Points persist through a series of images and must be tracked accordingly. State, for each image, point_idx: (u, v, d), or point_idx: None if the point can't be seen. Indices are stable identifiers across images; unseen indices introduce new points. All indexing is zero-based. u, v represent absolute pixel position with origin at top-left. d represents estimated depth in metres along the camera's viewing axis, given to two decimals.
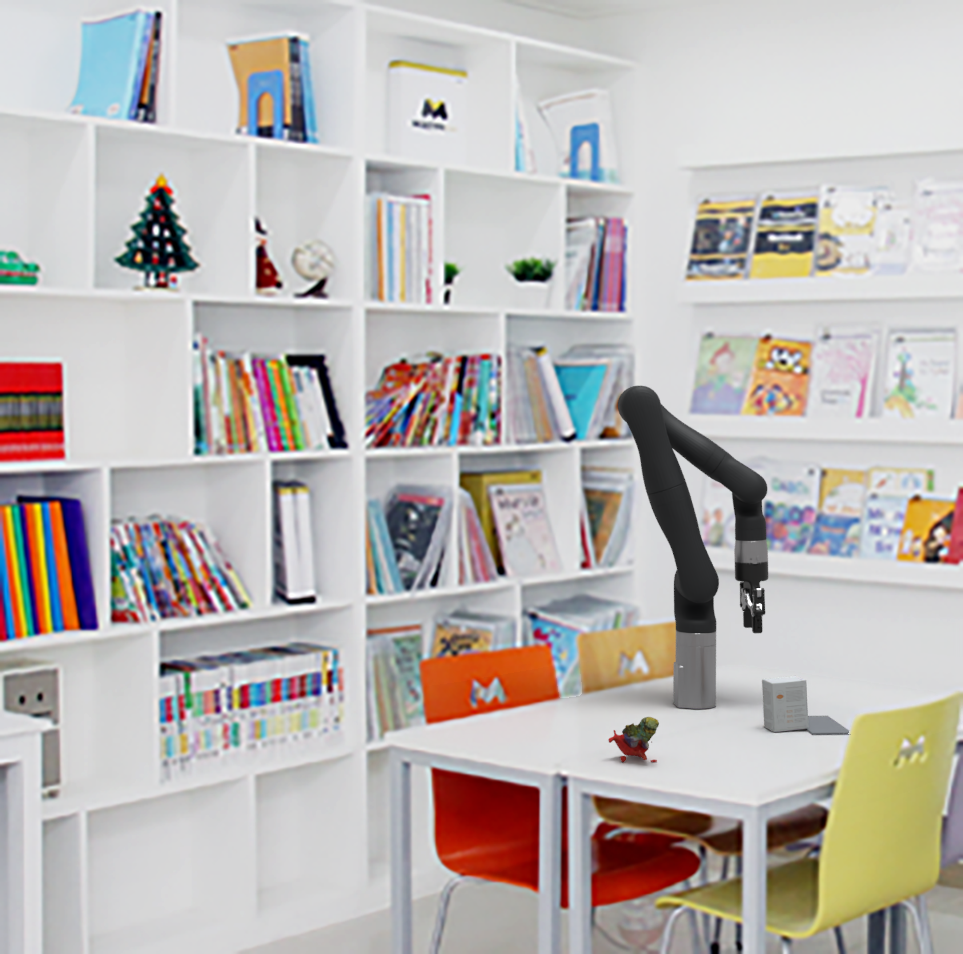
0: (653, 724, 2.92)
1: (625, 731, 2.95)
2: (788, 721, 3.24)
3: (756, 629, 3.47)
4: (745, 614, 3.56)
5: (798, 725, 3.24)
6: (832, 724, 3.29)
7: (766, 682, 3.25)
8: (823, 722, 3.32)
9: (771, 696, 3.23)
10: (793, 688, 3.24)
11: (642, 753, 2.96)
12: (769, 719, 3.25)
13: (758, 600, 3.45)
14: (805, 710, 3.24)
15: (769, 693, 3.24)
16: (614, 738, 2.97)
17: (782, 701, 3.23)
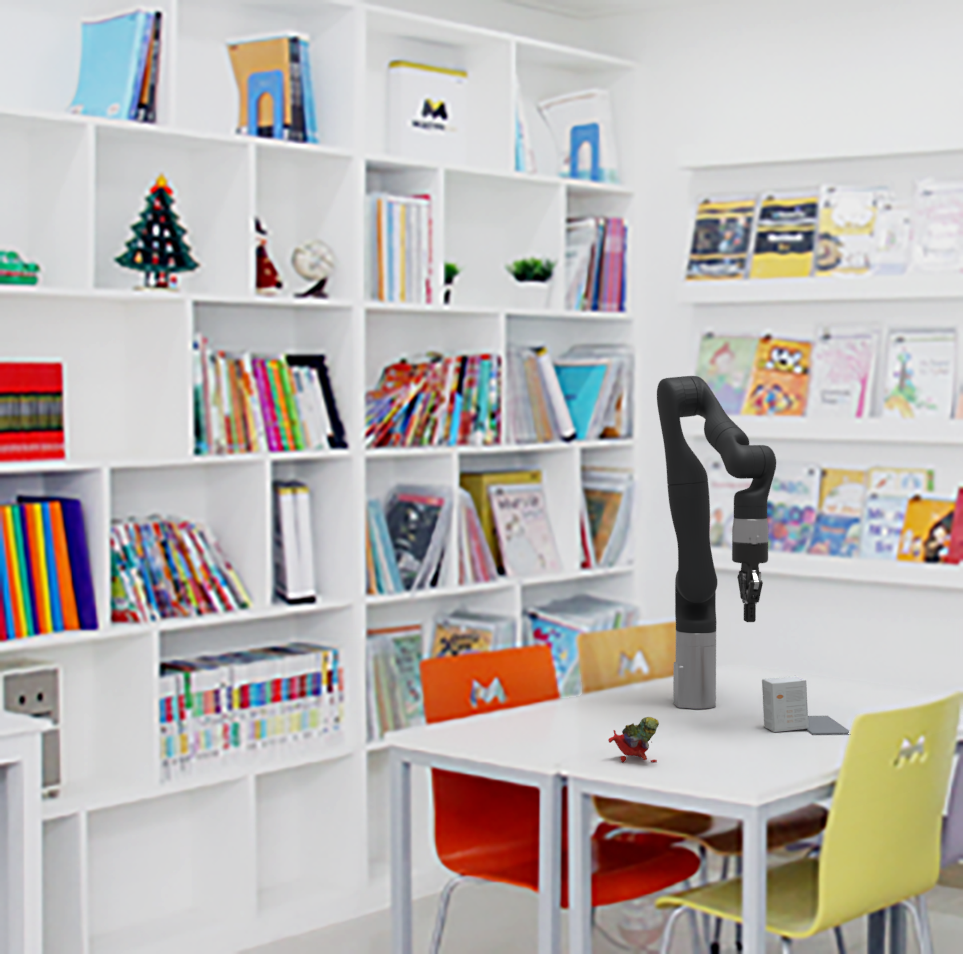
0: (653, 724, 2.92)
1: (625, 731, 2.95)
2: (788, 721, 3.24)
3: (749, 618, 3.24)
4: None
5: (798, 725, 3.24)
6: (832, 724, 3.29)
7: (766, 682, 3.25)
8: (823, 722, 3.32)
9: (771, 696, 3.23)
10: (793, 688, 3.24)
11: (642, 753, 2.96)
12: (769, 719, 3.25)
13: (754, 592, 3.20)
14: (805, 710, 3.24)
15: (769, 693, 3.24)
16: (614, 738, 2.97)
17: (782, 701, 3.23)
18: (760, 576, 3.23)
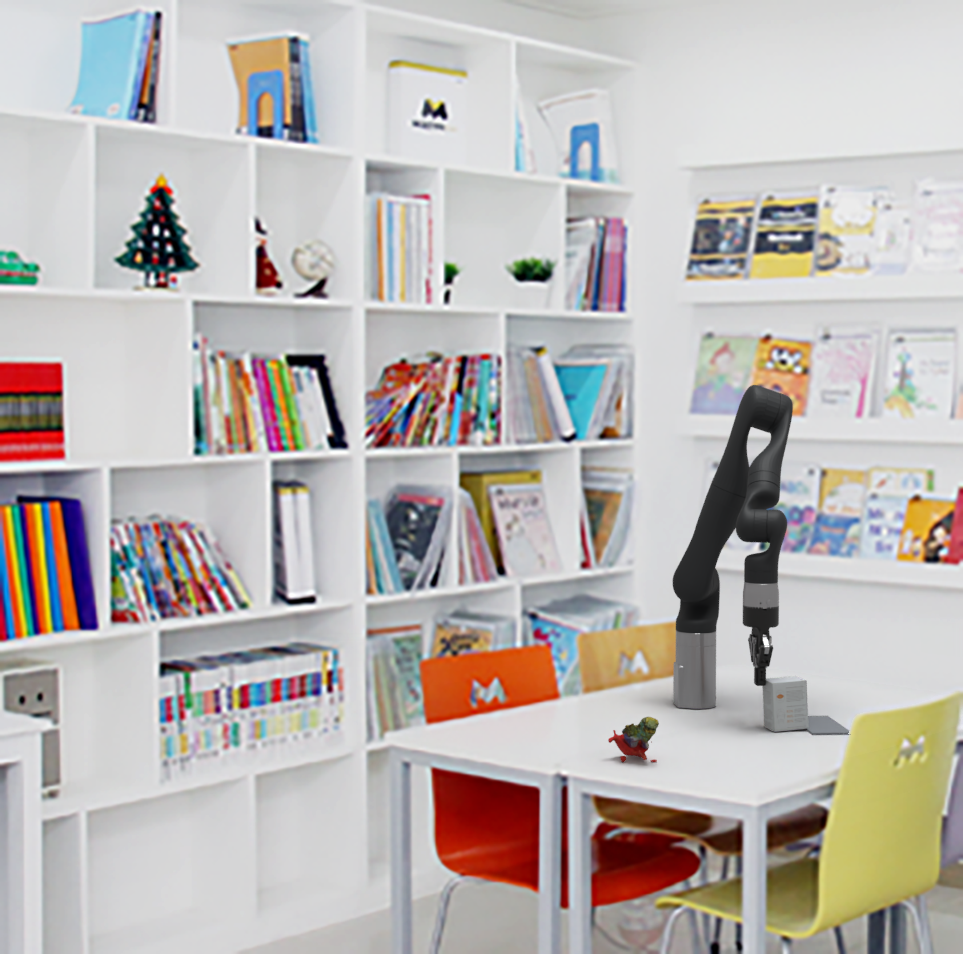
0: (653, 724, 2.92)
1: (625, 731, 2.95)
2: (788, 721, 3.24)
3: (759, 681, 3.24)
4: None
5: (798, 725, 3.24)
6: (832, 724, 3.29)
7: (766, 682, 3.25)
8: (823, 722, 3.32)
9: (771, 696, 3.23)
10: (793, 688, 3.24)
11: (642, 753, 2.96)
12: (769, 719, 3.25)
13: (764, 657, 3.21)
14: (805, 710, 3.24)
15: (769, 693, 3.24)
16: (614, 738, 2.97)
17: (782, 701, 3.23)
18: (770, 640, 3.23)
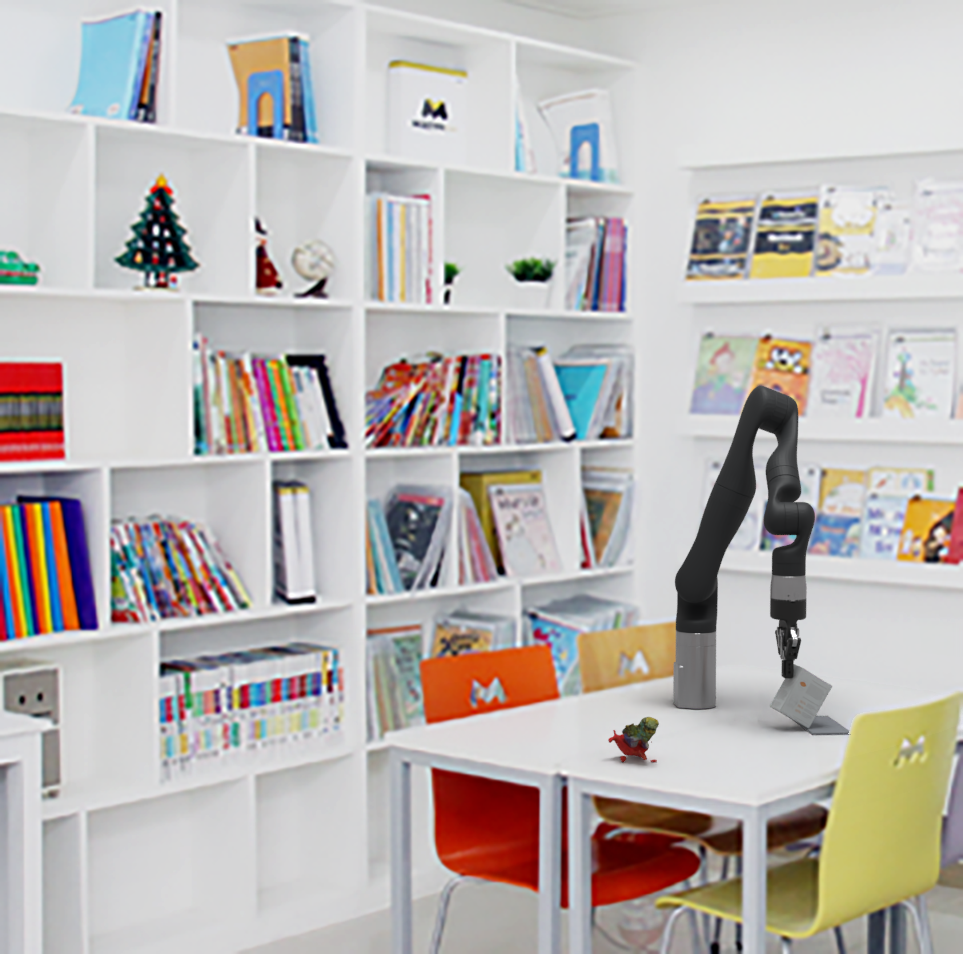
0: (653, 724, 2.92)
1: (625, 731, 2.95)
2: (796, 710, 3.24)
3: (787, 674, 3.25)
4: None
5: (802, 719, 3.24)
6: (832, 724, 3.29)
7: (797, 666, 3.27)
8: (823, 722, 3.32)
9: (796, 679, 3.24)
10: (818, 685, 3.25)
11: (642, 753, 2.96)
12: (780, 699, 3.25)
13: (792, 649, 3.21)
14: (816, 711, 3.25)
15: (794, 676, 3.25)
16: (614, 738, 2.97)
17: (802, 690, 3.24)
18: (798, 633, 3.24)
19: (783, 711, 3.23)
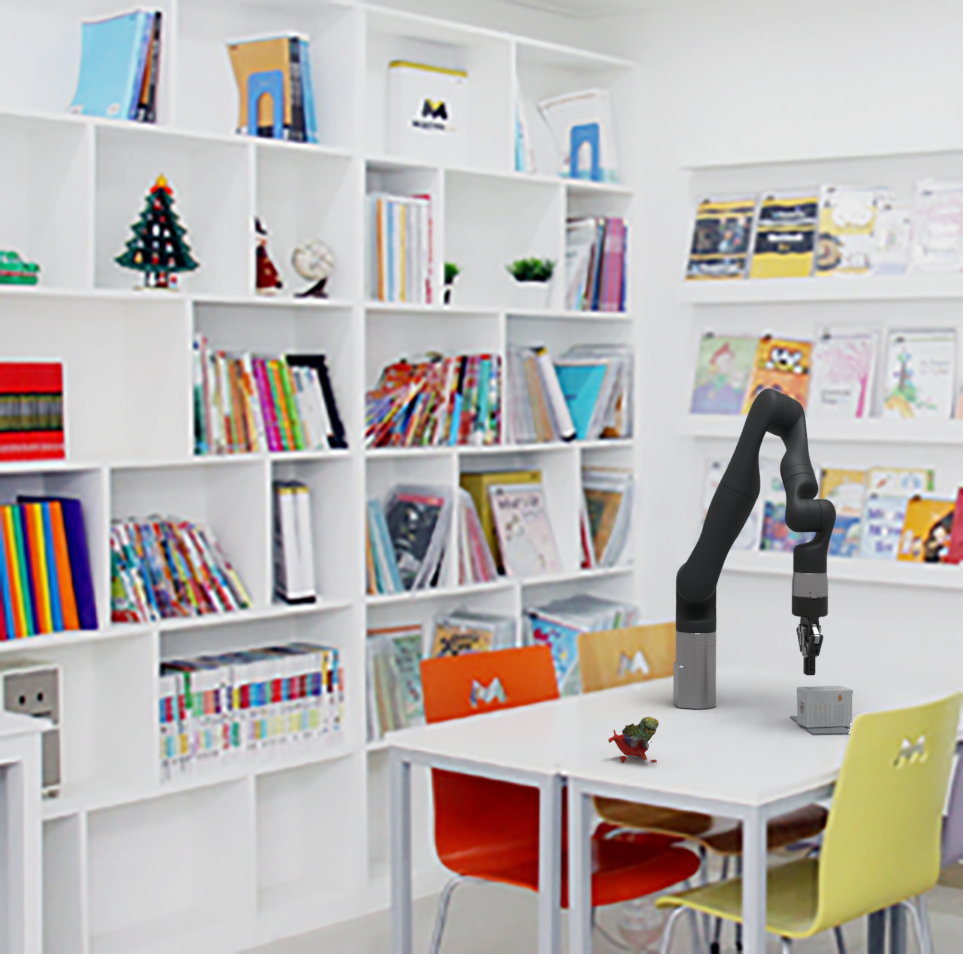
0: (653, 724, 2.92)
1: (625, 731, 2.95)
2: (816, 706, 3.25)
3: (809, 671, 3.25)
4: None
5: (811, 716, 3.25)
6: None
7: (845, 687, 3.30)
8: None
9: (839, 689, 3.27)
10: (845, 712, 3.27)
11: (642, 753, 2.96)
12: (812, 688, 3.27)
13: (814, 646, 3.21)
14: (824, 725, 3.26)
15: (839, 688, 3.28)
16: (614, 738, 2.97)
17: (835, 700, 3.26)
18: (820, 630, 3.24)
19: (809, 694, 3.25)
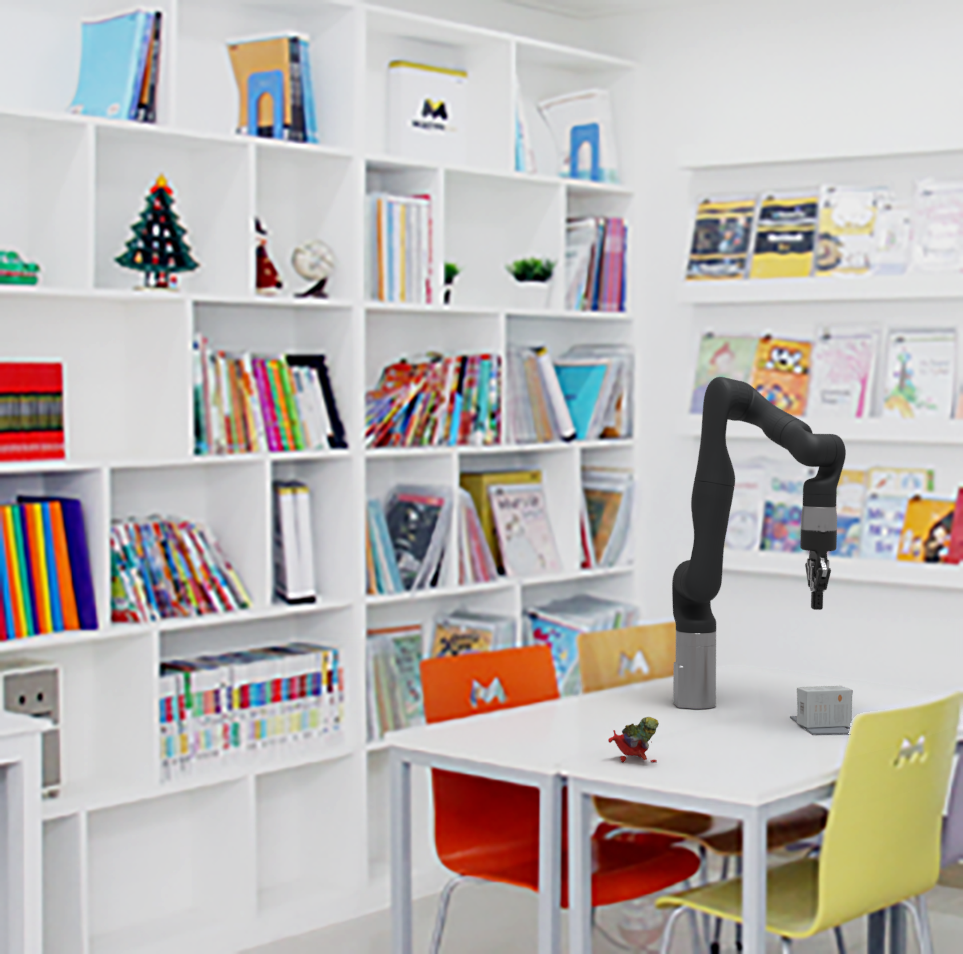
0: (653, 724, 2.92)
1: (625, 731, 2.95)
2: (816, 706, 3.25)
3: (816, 605, 3.26)
4: None
5: (811, 716, 3.25)
6: None
7: (845, 687, 3.30)
8: None
9: (839, 689, 3.27)
10: (845, 712, 3.27)
11: (642, 753, 2.96)
12: (812, 688, 3.27)
13: (822, 579, 3.22)
14: (824, 725, 3.26)
15: (839, 688, 3.28)
16: (614, 738, 2.97)
17: (835, 700, 3.26)
18: (828, 564, 3.25)
19: (809, 695, 3.25)
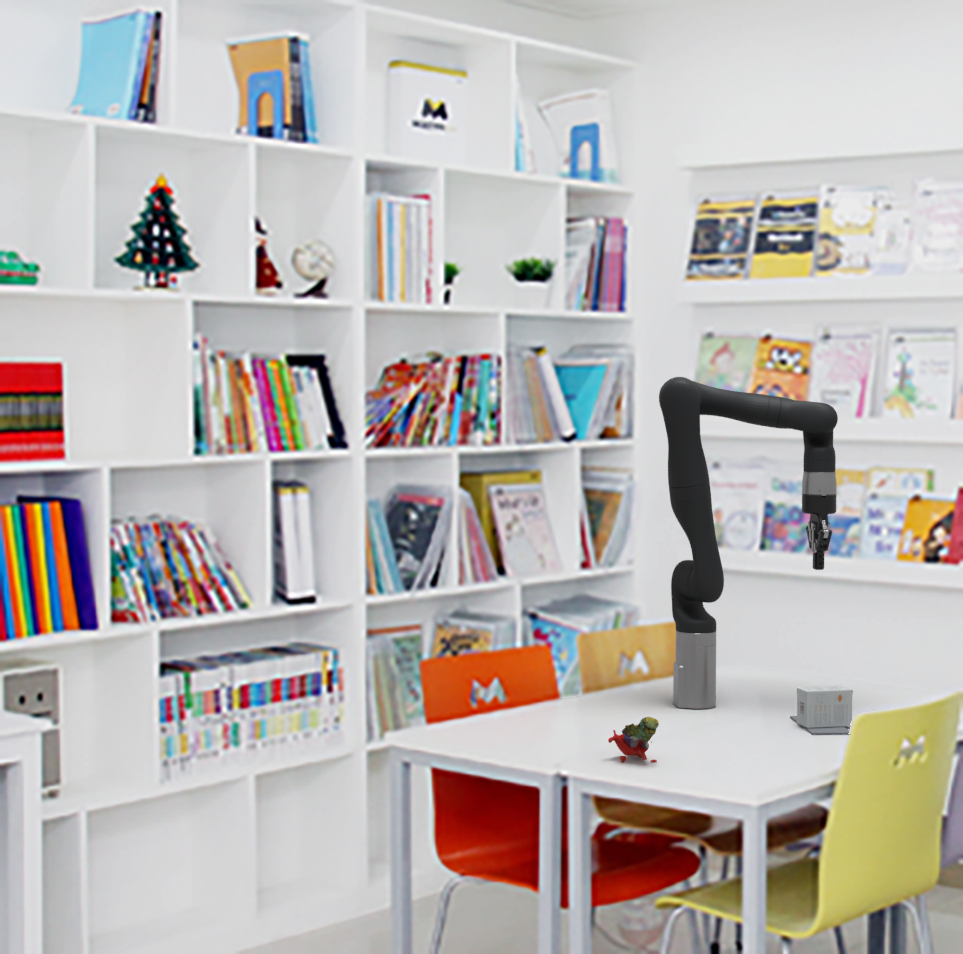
0: (653, 724, 2.92)
1: (625, 731, 2.95)
2: (816, 706, 3.25)
3: (818, 565, 3.43)
4: None
5: (811, 716, 3.25)
6: None
7: (845, 687, 3.30)
8: None
9: (839, 689, 3.27)
10: (845, 712, 3.27)
11: (642, 753, 2.96)
12: (812, 688, 3.27)
13: (823, 541, 3.40)
14: (824, 725, 3.26)
15: (839, 688, 3.28)
16: (614, 738, 2.97)
17: (835, 700, 3.26)
18: (829, 526, 3.43)
19: (809, 695, 3.25)
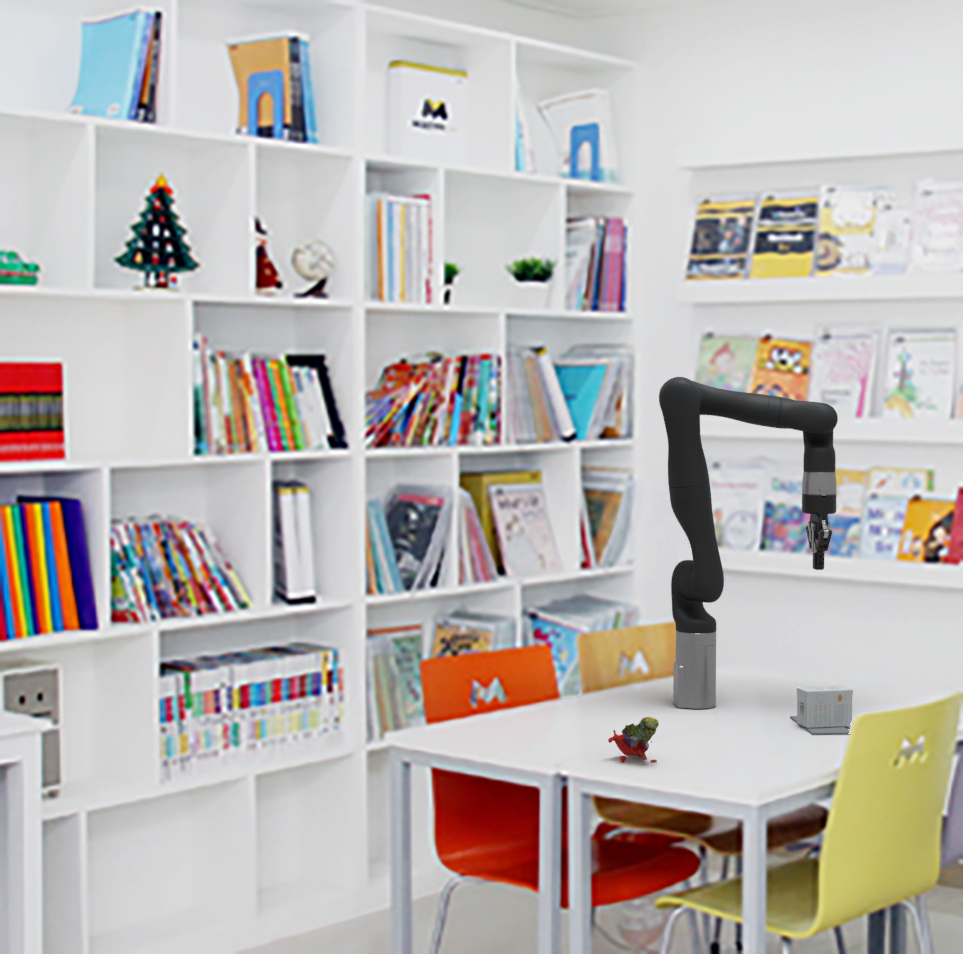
0: (653, 724, 2.92)
1: (625, 731, 2.95)
2: (816, 706, 3.25)
3: (818, 565, 3.43)
4: None
5: (811, 716, 3.25)
6: None
7: (845, 687, 3.30)
8: None
9: (839, 689, 3.27)
10: (845, 712, 3.27)
11: (642, 753, 2.96)
12: (812, 688, 3.27)
13: (823, 541, 3.40)
14: (824, 725, 3.26)
15: (839, 688, 3.28)
16: (614, 738, 2.97)
17: (835, 700, 3.26)
18: (829, 526, 3.43)
19: (809, 695, 3.25)
